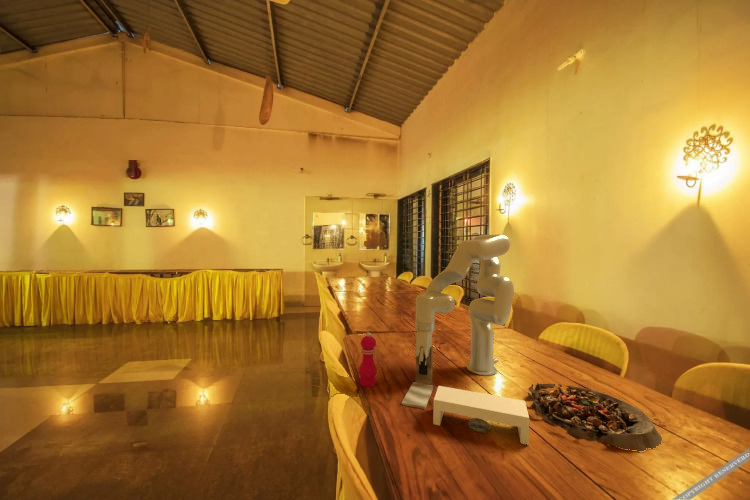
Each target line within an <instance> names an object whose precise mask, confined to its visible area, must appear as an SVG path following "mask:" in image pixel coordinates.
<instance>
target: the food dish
mask: <svg viewBox="0 0 750 500" xmlns="http://www.w3.org/2000/svg"><path fill="white" fill-rule="evenodd" d="M557 385H558V387H557V389H555V390H549V391H548V390H547V389H554V388H555V387H556V383H539V382H538V383H536V384H535V386H534V384H533V383H532V384H531V385H530V386H529V387H528V388H527V389H528V392H527V395H528V397H529V398H530V400H531V401H532V403H531V404H530V406H532V407H533V408H534V410H535V412H536V413H537V415H539V416H541V417H542V419H543V420H544V421H545V422H547V423H549V424H550V425H554V426H557V427H561V428H563V429H564V430H565V431H566V432H568V434H571V435H572V436H575V437H577V438H580V439H583V440H589V441H593V442H597V443H602V442H603V444H604V443H605V444H608V445H611V444H612V445H611V446H613V445H615V446H617V447H620V448H623V449H628V450H629V449H630V450H637V451H644V450H646V448H651V449H650V450H654V449H653V448H656V446H658V447H659V444H660V445H662V444H661V443H662V442H661V441H663V437H661V436H662V435H661V434H660V433H659V432H658V430H657V428H656V427H655V425H654V424H653V422H652V420H651V419H650V417H649V416H647V414H646V413H644V411H642V410H641V409H640V408H638V407H636V406H634V405H632V404H629V403H628V402H626V401H624V400H622V399H619V398H617V397H614V396H612V395H609V394H605V393H603V392H600V391H596V390H593V389H589V388H584V387H579V386H571V385H566V389H562V387H563V385H562V384H560V383H558V384H557ZM534 387H535V388H534ZM530 392H531V393H530ZM615 446H614V447H615ZM617 447H616V448H617ZM656 449H657V448H656ZM646 451H647V450H646Z"/></svg>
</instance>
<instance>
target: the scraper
mask: <svg viewBox="0 0 750 500" xmlns="http://www.w3.org/2000/svg"><path fill="white" fill-rule="evenodd" d="M424 356H426V355H424ZM433 357H434V346H433V345H432V346H431V347H430V352H429V356H428V357H427V365H428V371H427V375H421V374H419V358H420V354H419V355H418V356H417V357H416V356H415V381H413V382H412V383H411V385H410V386H409V389H408V390H407V392H406V394H405V396H404V398H403V399H402V401H401V405H403V406H406V407H412V408H416V409H419V410H420V409H422V410H426V408H427V405H428V403H429V400H430V398H431V395H432V392H433V389H434V385H433V370H434V369H433V365H434V363H433V360H434V359H433ZM424 359H425V358H424Z"/></svg>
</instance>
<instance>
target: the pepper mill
mask: <svg viewBox="0 0 750 500" xmlns="http://www.w3.org/2000/svg"><path fill="white" fill-rule="evenodd" d="M376 345H377V342H376V338H374V336H372V334H371V332H368V331H367V332H366V334H365V336H364V337H362V338H361V340H360V347H361V353H362V361H361V363H360V365H359V367H358V375H359V384H360V386H363V387H368V388H370V387H373V386H375V385H376V381H377V379H376V376H377V374H378V369H377V366H376V363H375V361H374V353H375V347H376Z"/></svg>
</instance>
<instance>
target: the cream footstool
mask: <svg viewBox="0 0 750 500" xmlns="http://www.w3.org/2000/svg"><path fill="white" fill-rule="evenodd" d="M528 411H529V410H528V408H527V403H526V400H522V399H517V398H513V397H511V398H510V397H506V396H500V395H495V394H489V393H484V392H478V391H476V392H475V391H473V390H466V389H460V388H453V387H448V386H444V385H443V386H442V385H438V386H437V389H436V393H435V395H434V397H433V417H432V420H433V421H432V422H433V423H432V424H433V425H436V426H441V423H442V419H443V417H444V415H443V414H444V412H445V413H449V414H454V415H460V416H465V417H470V418H478V419H482V420H485V421H489V422H494V423H499V424H505V425H508V426H513V427H514V426H515V427H517V431H518V435H519V441H520V444H523V445H526V444H527V445H526V446H529V443H530V442H529V440H530V416H529V412H528Z"/></svg>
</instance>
